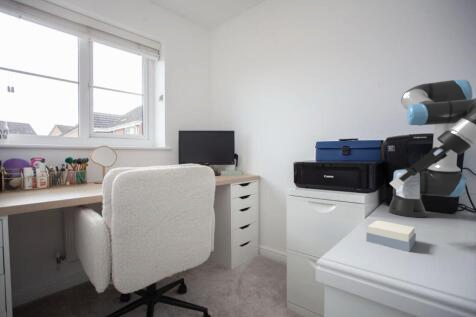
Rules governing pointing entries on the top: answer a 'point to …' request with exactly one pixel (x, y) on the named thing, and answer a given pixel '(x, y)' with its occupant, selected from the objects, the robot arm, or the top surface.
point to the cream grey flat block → (391, 235)
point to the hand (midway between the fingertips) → (395, 185)
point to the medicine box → (409, 187)
